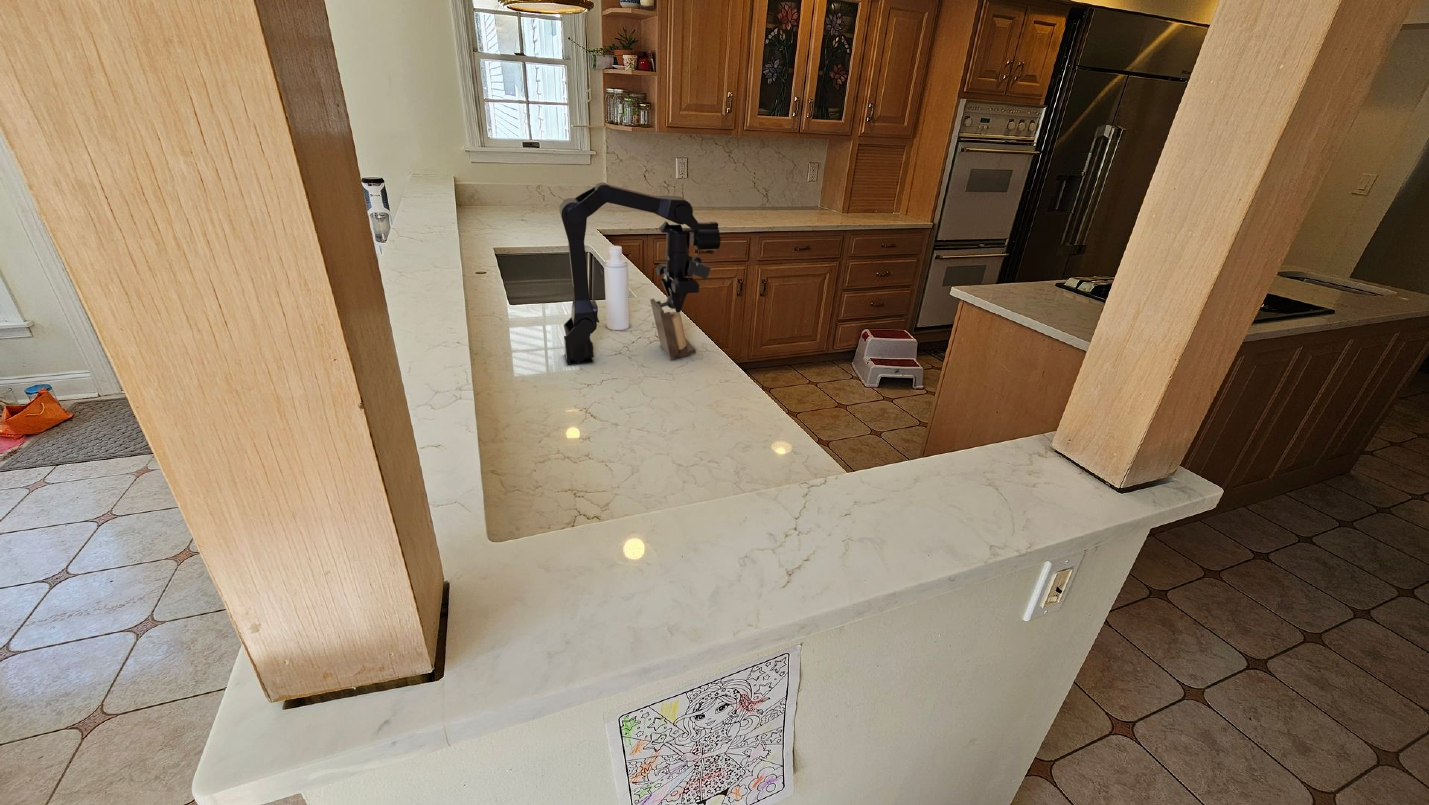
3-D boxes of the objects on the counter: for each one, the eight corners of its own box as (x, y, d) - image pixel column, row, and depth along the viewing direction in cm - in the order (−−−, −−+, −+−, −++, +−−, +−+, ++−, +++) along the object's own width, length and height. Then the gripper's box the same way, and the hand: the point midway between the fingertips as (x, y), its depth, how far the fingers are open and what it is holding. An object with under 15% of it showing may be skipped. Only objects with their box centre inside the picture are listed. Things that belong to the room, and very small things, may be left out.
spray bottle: (633, 325, 182) (631, 240, 171) (620, 331, 177) (617, 245, 165) (615, 320, 185) (612, 237, 173) (602, 327, 179) (598, 241, 168)
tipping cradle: (658, 306, 152) (685, 299, 153) (648, 294, 160) (673, 287, 162) (671, 360, 160) (695, 352, 161) (660, 346, 168) (684, 339, 169)
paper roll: (663, 321, 157) (682, 316, 158) (659, 314, 161) (677, 309, 162) (670, 352, 161) (688, 347, 162) (666, 345, 166) (684, 340, 166)
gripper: (720, 258, 147) (717, 319, 154) (696, 241, 163) (694, 297, 170) (676, 259, 143) (675, 322, 150) (656, 242, 159) (655, 299, 166)
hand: (676, 309), depth 159 cm, fingers closed on tipping cradle, 3 cm apart
